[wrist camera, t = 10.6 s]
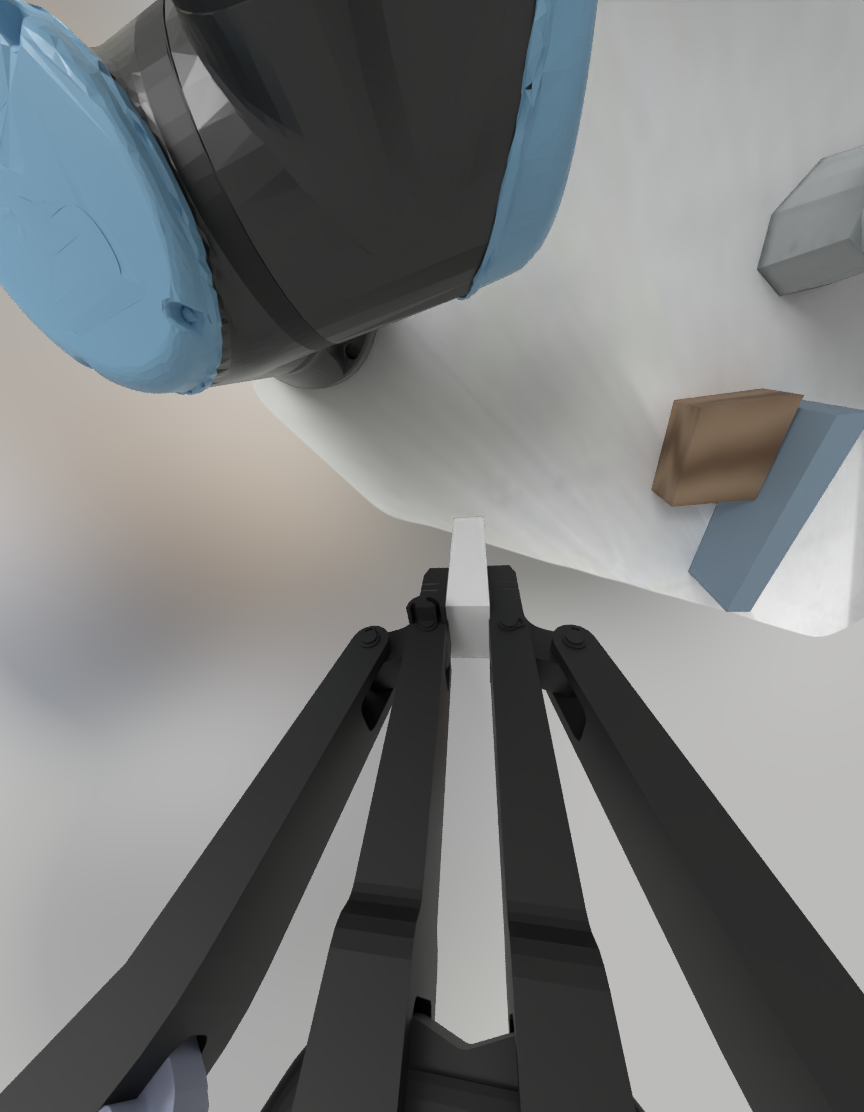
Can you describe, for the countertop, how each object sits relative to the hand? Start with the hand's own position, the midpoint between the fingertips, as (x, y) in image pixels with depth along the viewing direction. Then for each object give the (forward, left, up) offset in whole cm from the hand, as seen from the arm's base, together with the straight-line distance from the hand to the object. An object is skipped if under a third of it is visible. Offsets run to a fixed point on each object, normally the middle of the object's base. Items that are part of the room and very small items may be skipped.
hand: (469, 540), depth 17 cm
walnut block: (+4, +26, -25) cm, 36 cm away
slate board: (+11, +31, -24) cm, 41 cm away
